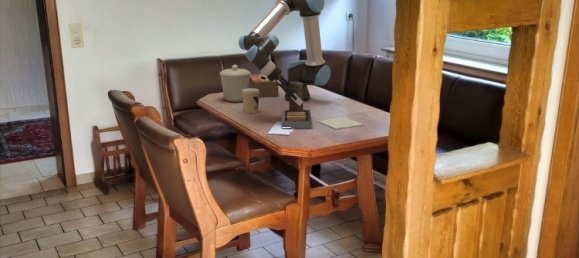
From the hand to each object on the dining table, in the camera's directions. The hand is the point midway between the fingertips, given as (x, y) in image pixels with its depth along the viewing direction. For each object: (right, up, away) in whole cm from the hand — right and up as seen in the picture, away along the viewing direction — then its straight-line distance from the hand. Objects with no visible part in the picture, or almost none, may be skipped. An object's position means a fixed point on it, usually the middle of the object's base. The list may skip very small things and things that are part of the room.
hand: (301, 100), depth 286 cm
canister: (-38, +3, +46) cm, 59 cm away
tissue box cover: (-22, +8, +64) cm, 68 cm away
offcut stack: (-3, -13, -8) cm, 15 cm away
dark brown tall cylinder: (-3, -10, +3) cm, 10 cm away
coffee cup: (-27, -5, +20) cm, 34 cm away
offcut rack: (-3, -11, -2) cm, 12 cm away
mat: (+20, -12, -5) cm, 23 cm away
